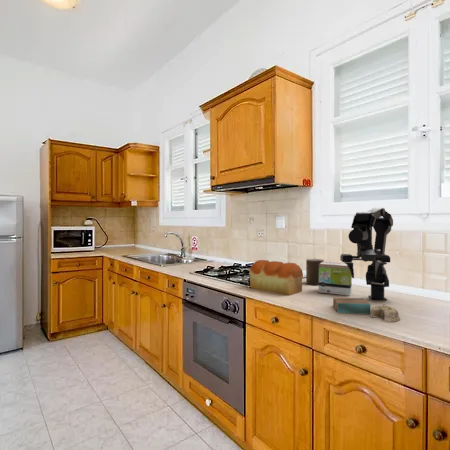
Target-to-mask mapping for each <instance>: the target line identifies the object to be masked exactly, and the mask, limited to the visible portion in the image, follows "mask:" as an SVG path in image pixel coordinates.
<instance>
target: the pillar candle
mask: <svg viewBox="0 0 450 450" xmlns="http://www.w3.org/2000/svg"><path fill="white" fill-rule="evenodd" d="M305 261H306V264H305V265H306V267H305V268H306V269H305V271H306V274H305V275H306V276H305V279H306V280H305V282H306V284H308V285H312V286H318V284H319V264H320V263H321V262H325V261H324V259H320V258H319V259H317V258H308V259H306V260H305Z"/></svg>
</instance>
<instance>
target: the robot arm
mask: <svg viewBox="0 0 450 450" xmlns="http://www.w3.org/2000/svg"><path fill="white" fill-rule="evenodd" d="M393 226H394V219H393V216H392V214H390V213H389V212H388V211H386V209H385V207H373V208H372V209H369V210H367V211H357V212H356V213H355V214H354V216H353V219H352V223H351V229H352V230H350V231H349V233H348V239H349V241H350V242H351V243H352V244H356V247H357V249H356V255H352V254H351V253H341V254H340V259H339V260H340V261H341V263H345V264H347V266H348V268H349V270H350V273H351V275H352V279H355V273H354V272H355V271H354V262H353V261H363V262H372V263H371V264H368V265H367V270H366V272H365V282H366V285H367V286H368V285H369V286H370V295H367V297H368V298H369V299H371V300H373V301H375V300H377V301H378V300H379V301H387V300H388V299H387V298H386V297H385V288H389V287H390V280H389V277H388V274H387V270H386V267H385V265H387V263H391V256H390V255H388V254H385V251H386V246H387V245H386V244H387V243H386V242H387V236H388V235H389V234H390V232H391V231H392V227H393ZM373 230H374V233H375V239H374V246H373Z"/></svg>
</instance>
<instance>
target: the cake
mask: <svg viewBox="0 0 450 450" xmlns="http://www.w3.org/2000/svg"><path fill="white" fill-rule="evenodd" d="M369 316H370V317H371V318H372V316H378V317H377V318H381V317H382V319H383V321H384V322H390V321H396V322H398V321H400V320H401V318H400V316H399V311H398V309H397V308H395V307H392V306H390V305H386V304H383V305H376V306H373V307H371V308H370V314H369Z"/></svg>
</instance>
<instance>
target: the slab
mask: <svg viewBox="0 0 450 450" xmlns="http://www.w3.org/2000/svg"><path fill="white" fill-rule="evenodd" d="M332 306H333V308H334V309H335V311H336V312H337V313H338V314H360V315H370V314H371V304H370V303H369V302H368V301H367V300H366V299H365V298H362V297H340V296H339V297H335V296H334V297H332Z"/></svg>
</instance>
